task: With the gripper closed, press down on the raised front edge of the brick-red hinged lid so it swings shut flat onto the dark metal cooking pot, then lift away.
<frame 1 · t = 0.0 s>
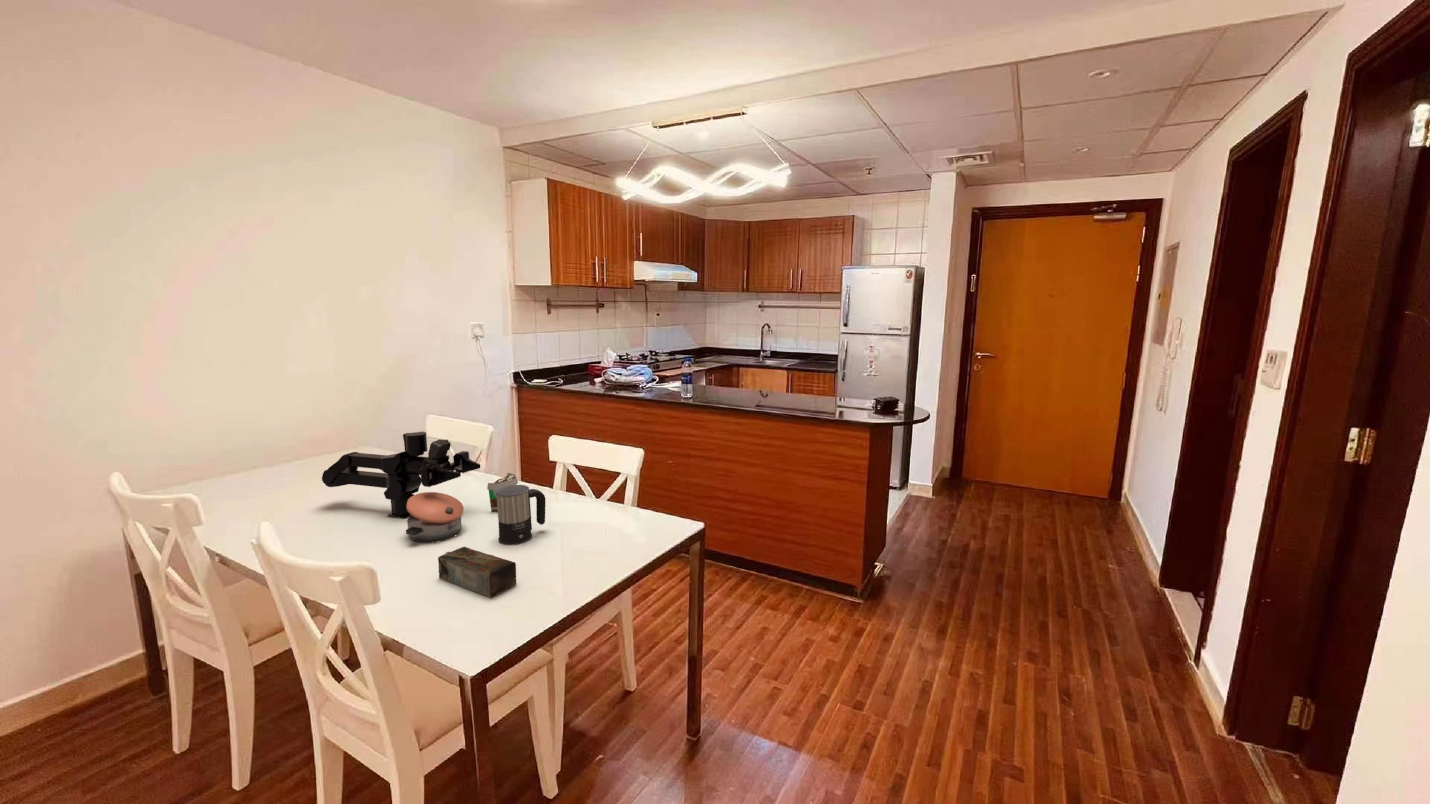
hand: (470, 470, 171), 17 cm above the table, tool horizontal, fingers open, 9 cm apart
milk frother: (514, 534, 166), on the table
lid: (436, 505, 164), point 9 cm above the table, hinge at 20.0°
beverage carton: (477, 583, 138), on the table
food container: (508, 508, 187), on the table
pot: (435, 533, 166), on the table
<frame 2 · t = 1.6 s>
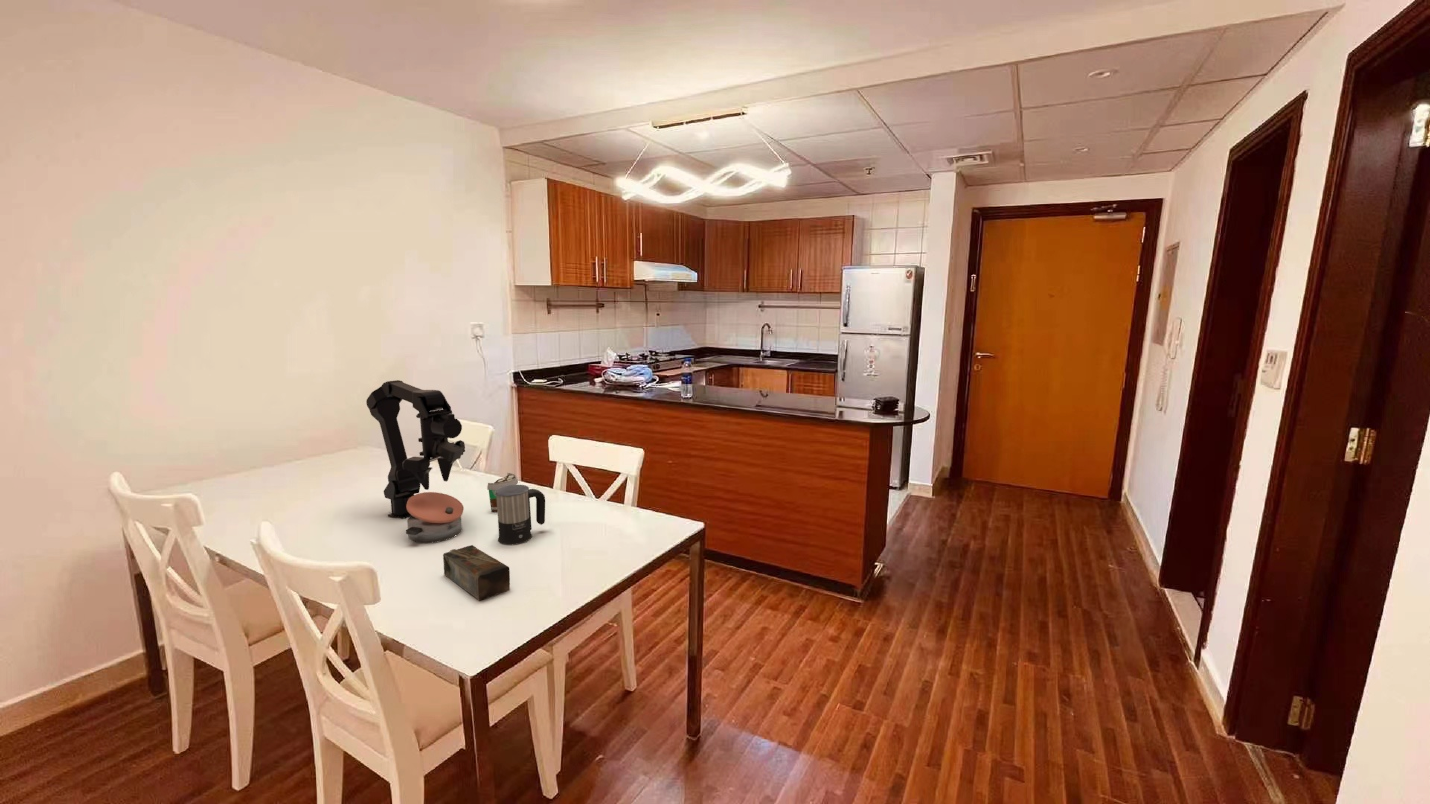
hand: (436, 485, 168), 13 cm above the table, tool pointing down, fingers open, 8 cm apart
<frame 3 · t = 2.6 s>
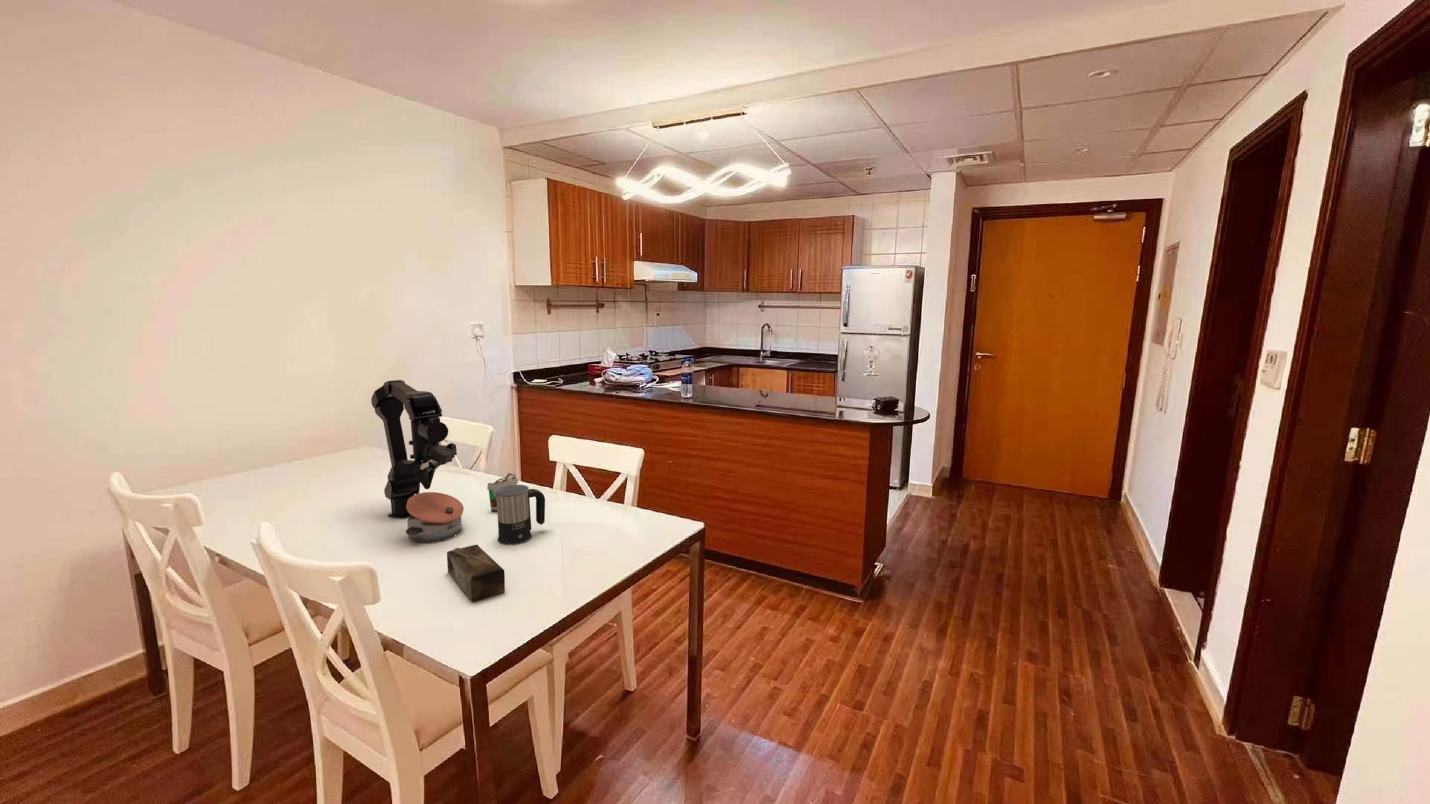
hand: (427, 488, 165), 13 cm above the table, tool pointing down, fingers closed
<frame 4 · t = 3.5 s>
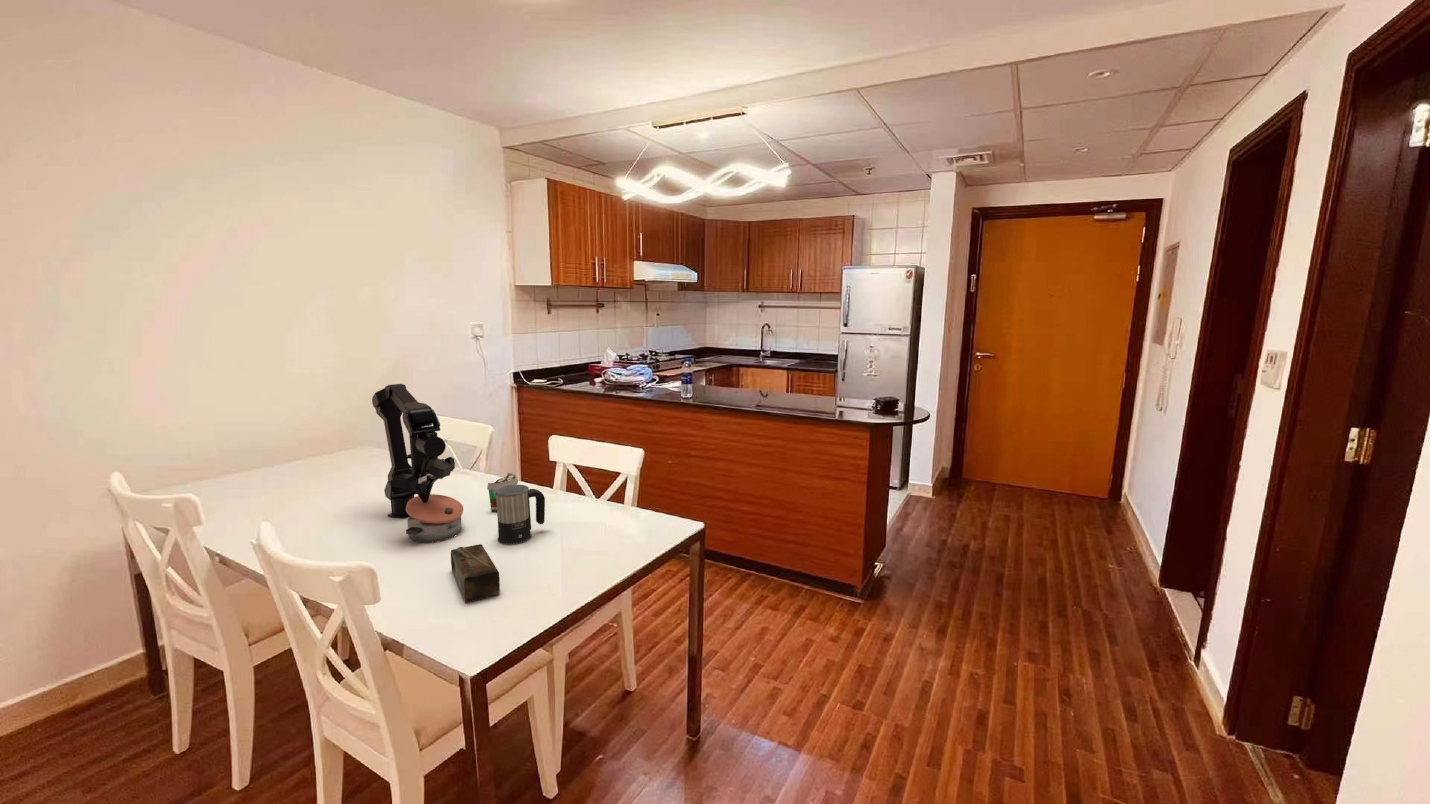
hand: (425, 502, 165), 9 cm above the table, tool pointing down, fingers closed, pressing on lid
lid: (435, 506, 164), point 8 cm above the table, hinge at 16.6°, touching gripper
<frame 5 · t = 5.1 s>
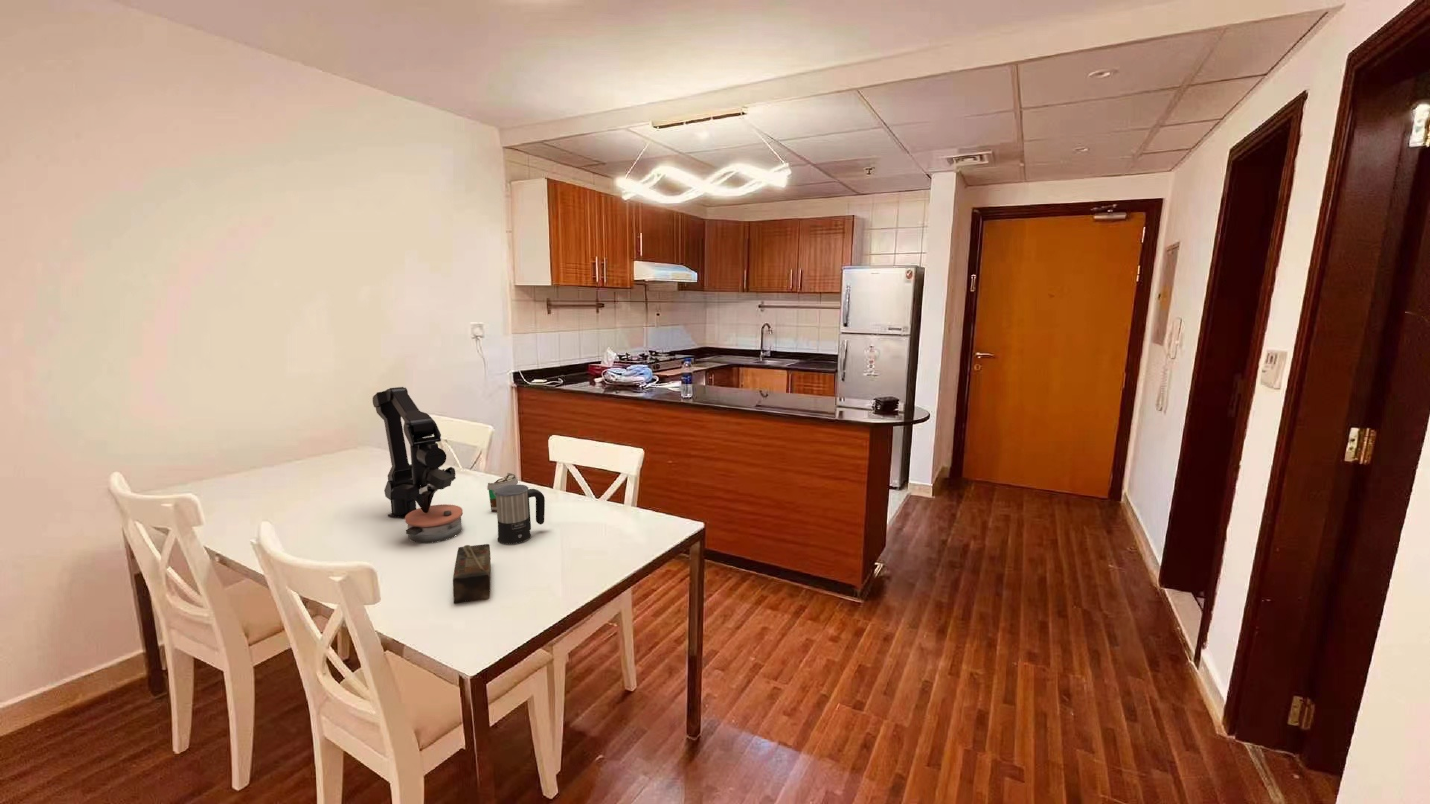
hand: (426, 512, 165), 6 cm above the table, tool pointing down, fingers closed
lid: (434, 513, 165), point 6 cm above the table, hinge at 0.0°, touching pot
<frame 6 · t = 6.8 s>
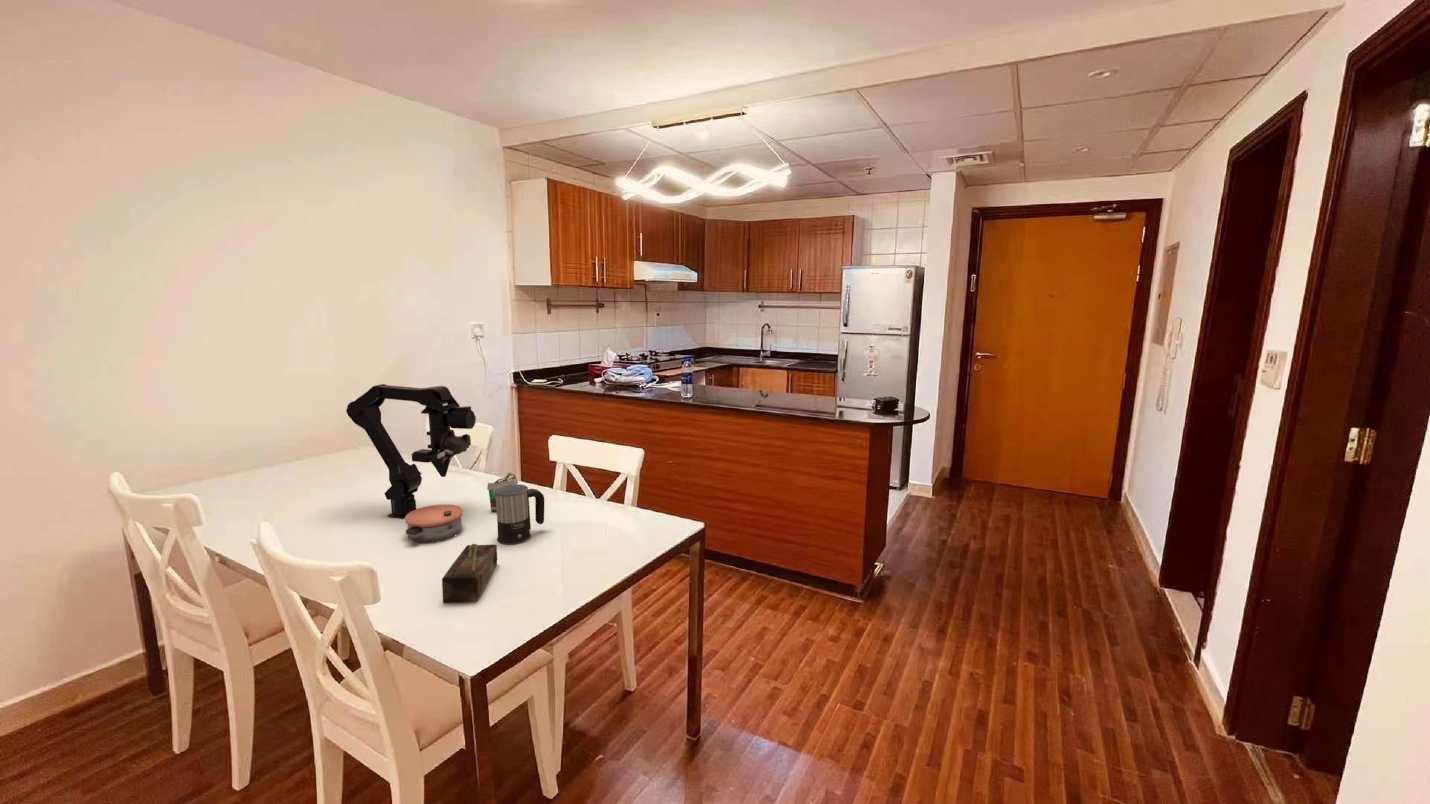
hand: (443, 476, 176), 13 cm above the table, tool pointing down, fingers closed
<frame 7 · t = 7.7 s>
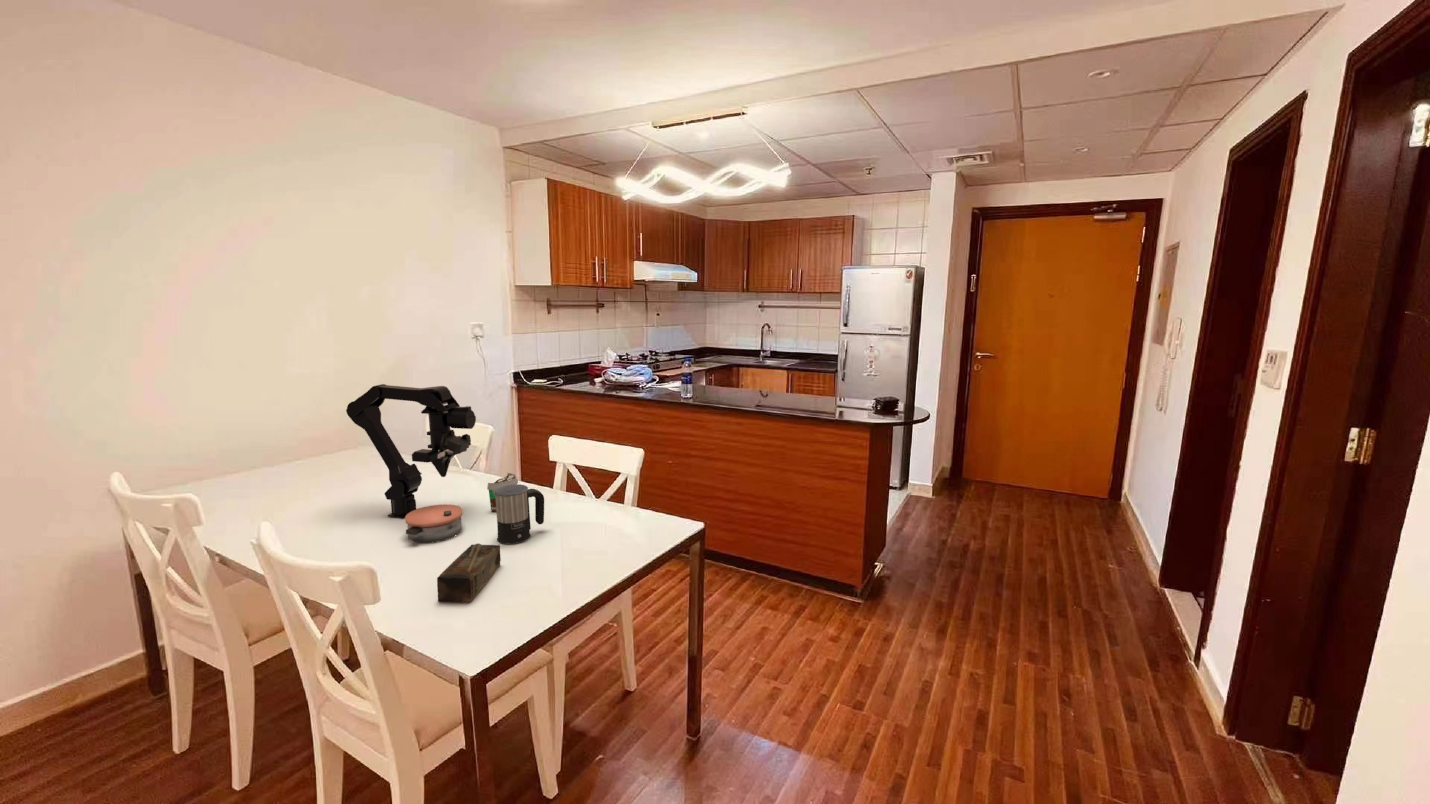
hand: (443, 476, 176), 13 cm above the table, tool pointing down, fingers closed
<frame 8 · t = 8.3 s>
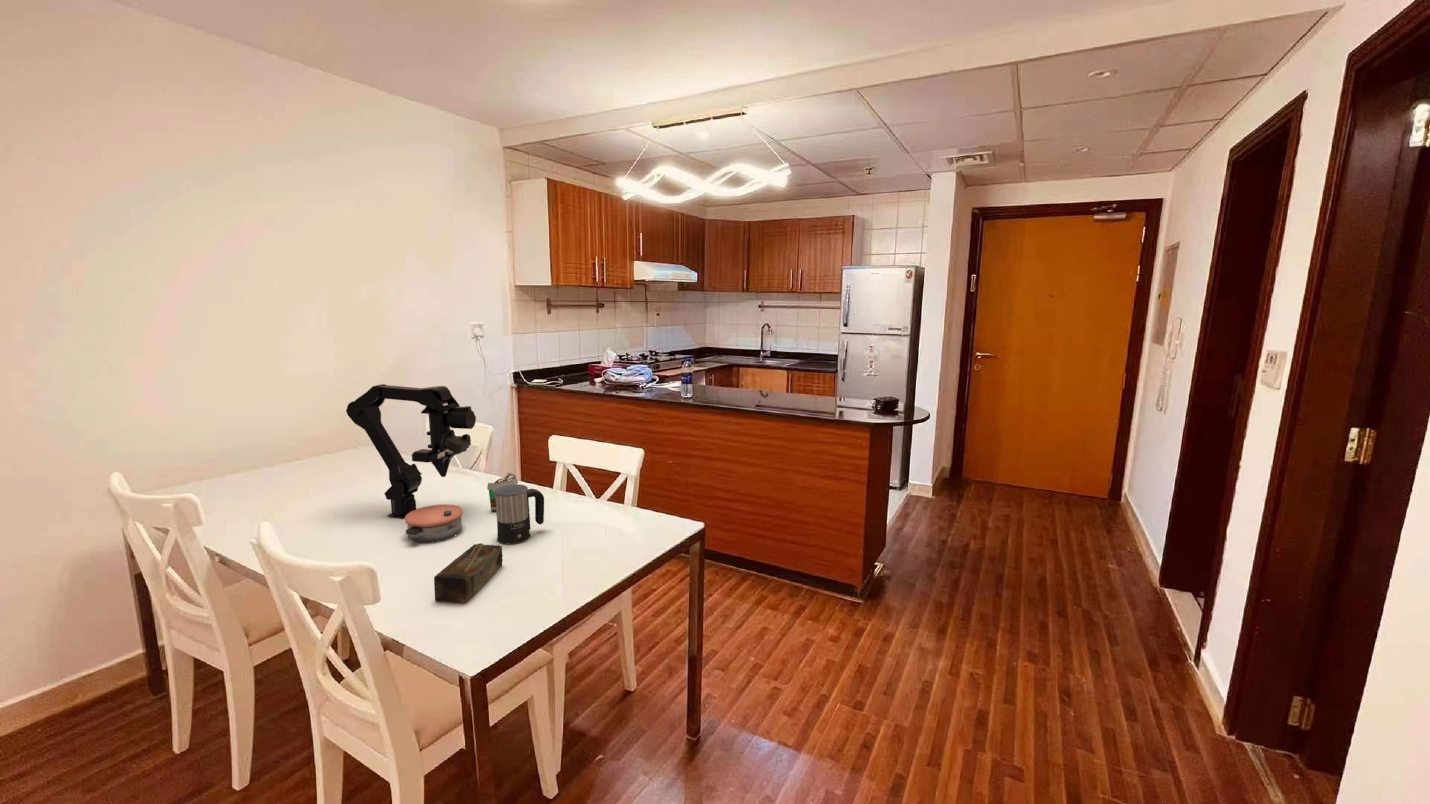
hand: (443, 476, 176), 13 cm above the table, tool pointing down, fingers closed
at the end: lid at +0° (first picture: +20°); milk frother moved 0.6 cm from its start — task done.
